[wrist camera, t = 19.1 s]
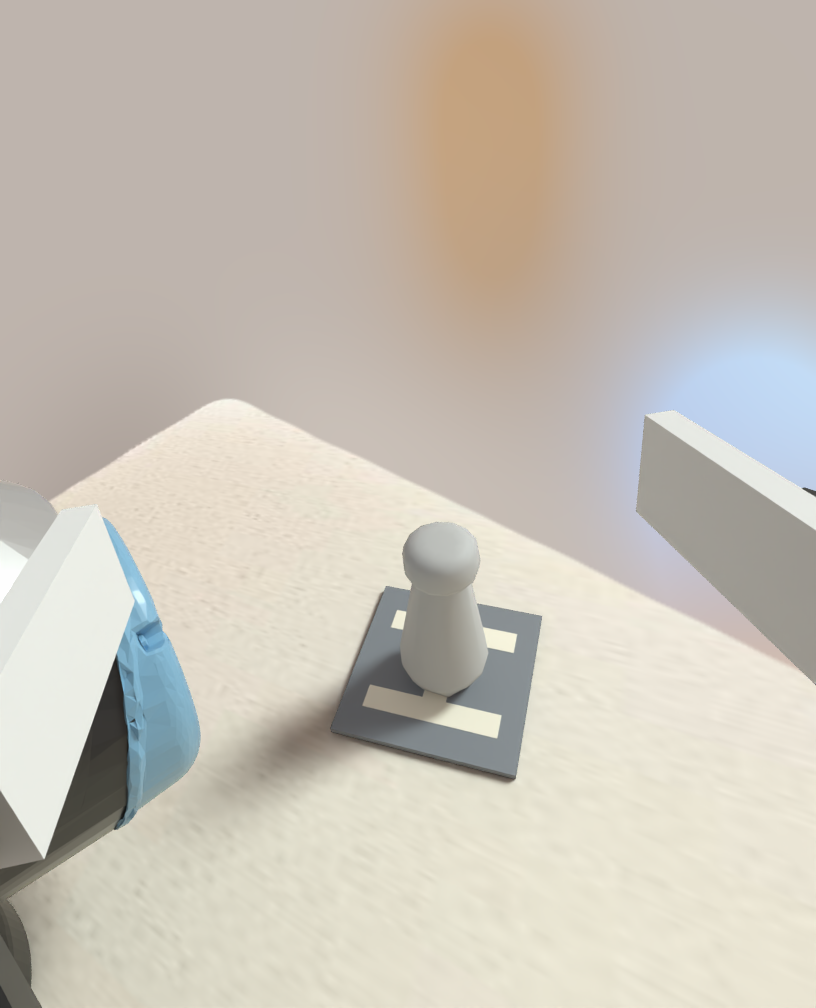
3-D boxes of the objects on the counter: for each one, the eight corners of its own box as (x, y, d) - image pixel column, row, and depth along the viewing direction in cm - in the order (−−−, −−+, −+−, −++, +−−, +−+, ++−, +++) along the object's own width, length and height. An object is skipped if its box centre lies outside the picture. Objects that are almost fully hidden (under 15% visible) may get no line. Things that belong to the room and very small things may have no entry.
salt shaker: (399, 638, 45) (384, 509, 36) (478, 629, 45) (483, 499, 36) (406, 713, 41) (391, 588, 32) (493, 704, 41) (503, 577, 32)
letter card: (331, 732, 41) (330, 727, 40) (386, 590, 49) (386, 585, 48) (515, 779, 38) (515, 775, 37) (541, 620, 46) (542, 615, 46)
